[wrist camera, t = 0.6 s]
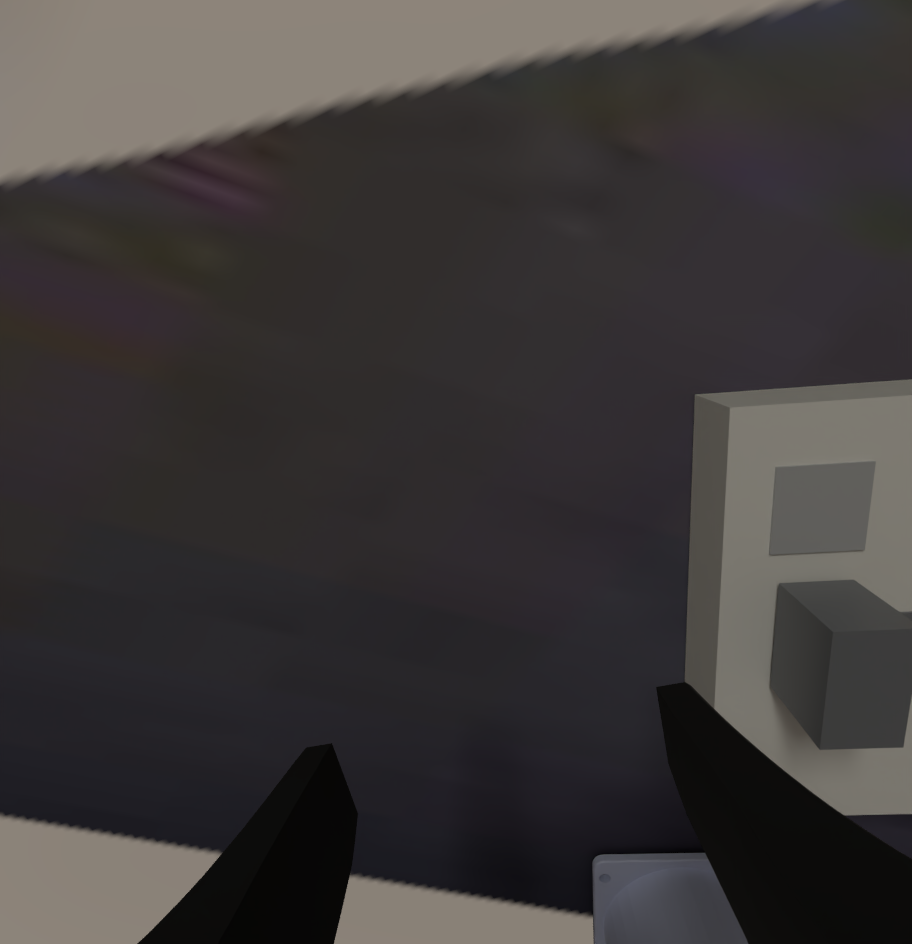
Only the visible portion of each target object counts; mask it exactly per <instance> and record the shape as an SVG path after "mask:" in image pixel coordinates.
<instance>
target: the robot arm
mask: <svg viewBox="0 0 912 944" xmlns="http://www.w3.org/2000/svg"><path fill="white" fill-rule="evenodd" d="M656 688H657V695H658V701H659V707H660V713H661V719H662V726H663V732H664V738H665V744H666V751H667V757H668V763H669V766H670V769H671V772H672V775H673V778H674V780H675V783H676V786H677V789H678V792H679V794H680V797H681V800H682V802H683V805H684V808H685V811H686V813H687V816H688V818H689V820H690V822H691V824H692V826H693V828H694V831H695V833H696V835H697V837H698V839H699V841H700V843H701V845H702V847H703V849H704V852H705V853H657V854H603V855H598V856H597V857H595V858H594V860H593V863H592V872H593V930H594V944H912V859H911V858H909V857H907V856H906V855H904V854H902V853H901V852H899V851H897V850H896V849H894V848H893V847H891V846H889V845H888V844H886V843H885V842H883V841H882V840H880V839H879V838H877V837H876V836H874V835H872V834H871V833H869V832H868V831H866V830H865V829H863V828H862V827H860V826H859V825H857V824H856V823H854V822H853V821H852V820H850V819H849V818H847V817H846V816H844V815H843V814H841V813H840V812H838V811H837V810H836V809H834V808H833V807H831V806H830V805H829V804H827V803H826V802H825V801H823V800H822V799H820V798H819V797H818V796H816V795H815V794H814V793H812V792H811V791H810V790H808V789H807V788H806V787H805V786H803V785H802V784H801V783H799V782H798V781H797V780H796V779H794V778H793V777H792V776H790V775H789V774H788V773H787V772H785V771H784V770H783V769H782V768H780V767H779V766H778V765H777V764H776V763H774V762H773V761H772V760H771V759H769V758H768V757H767V756H766V755H765V754H764V753H762V752H761V751H760V750H759V749H758V748H757V747H756V746H754V745H753V744H752V743H751V742H750V741H749V740H747V739H746V738H745V737H744V736H743V735H742V734H741V733H739V732H738V731H737V730H736V729H735V728H734V727H733V726H732V725H731V724H730V723H729V722H728V721H726V720H725V719H724V718H723V717H722V716H721V715H720V714H719V713H718V712H717V711H716V710H715V709H714V708H713V707H712V706H711V705H710V704H709V703H708V702H707V701H706V700H705V699H704V698H703V697H702V696H701V695H700V694H699V693H698V692H697V691H696V690H695V689H694V688H693V687H692V686H691V685H689V684H688V683H686V682H684V683H678V684H672V685H666V686H661V687H656ZM357 816H358V813H357V810H356V807H355V805H354V802H353V799H352V796H351V794H350V791H349V788H348V786H347V783H346V780H345V778H344V775H343V772H342V769H341V767H340V764H339V761H338V759H337V756H336V753H335V751H334V748H333V745H332V743H331V744H325V745H320V746H314V747H308V748H306V749H305V750H304V751H303V752H302V754H301V755H300V756H299V757H298V759H297V760H296V761H295V762H294V764H293V765H292V766H291V768H290V769H289V770H288V771H287V773H286V774H285V775H284V777H283V778H282V779H281V781H280V782H279V783H278V785H277V786H276V787H275V788H274V790H273V791H272V792H271V794H270V795H269V796H268V798H267V799H266V800H265V801H264V803H263V804H262V805H261V806H260V808H259V809H258V810H257V812H256V813H255V814H254V815H253V817H252V818H251V819H250V820H249V822H248V823H247V824H246V826H245V827H244V828H243V829H242V831H241V832H240V833H239V834H238V835H237V837H236V838H235V839H234V840H233V841H232V842H231V844H230V845H229V846H228V847H227V848H226V850H225V851H224V852H223V853H222V854H221V855H220V857H219V858H218V859H217V860H216V861H215V863H214V864H213V865H212V866H211V867H210V868H209V870H208V871H207V872H206V873H205V875H204V876H203V877H202V878H201V879H200V880H199V881H198V882H197V883H196V885H195V886H194V887H193V888H192V889H191V890H190V891H189V892H188V893H187V894H186V895H185V896H184V898H183V899H182V900H181V901H180V902H179V903H178V904H177V905H176V906H175V907H174V908H173V909H172V910H171V911H170V912H169V913H168V914H167V915H166V916H165V917H164V918H163V919H162V920H161V921H160V922H159V924H157V925H156V926H155V927H154V929H152V931H150V932H149V933H148V934H147V935H146V936H145V937H144V938H143V939H142V940H141V941H140V942H139V943H138V944H334V940H335V936H336V932H337V928H338V923H339V919H340V915H341V910H342V906H343V902H344V898H345V893H346V889H347V884H348V880H349V875H350V871H351V866H352V860H353V852H354V844H355V835H356V826H357ZM603 874H604V875H603Z"/></svg>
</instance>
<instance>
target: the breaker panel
mask: <svg viewBox="0 0 912 944" xmlns="http://www.w3.org/2000/svg"><path fill="white" fill-rule="evenodd" d="M834 580H855V581H857V582H858V583H859V584H861V585H862V586H864V587H865V588H866V589H868V590H869V591H871V592H872V593H873V594H875V595H876V596H878V597H879V598H881V599H882V600H883V601H885V602H886V603H888V604H889V605H890V606H892V607H893V608H895V609H896V610H897V611H899V612H900V613H902V614H903V615H904V616H906V617H907V618H909V619H910V620H911V621H912V379H910V380H896V381H882V382H867V383H853V384H839V385H825V386H810V387H796V388H782V389H767V390H753V391H739V392H725V393H710V394H696V395H695V405H694V433H693V461H692V490H691V518H690V546H689V574H688V603H687V631H686V659H685V682H686V683H688V684H689V685H691V686H692V687H693V688H694V689H695V690H696V691H697V692H698V693H699V694H700V695H701V696H702V697H703V698H704V699H705V700H706V701H707V702H708V703H709V704H710V705H711V706H712V707H713V708H714V709H715V710H716V711H717V712H718V713H719V714H720V715H721V716H722V717H723V718H724V719H725V720H726V721H728V722H729V723H730V724H731V725H732V726H733V727H734V728H735V729H736V730H737V731H738V732H739V733H741V734H742V735H743V736H744V737H745V738H746V739H747V740H749V741H750V742H751V743H752V744H753V745H754V746H756V747H757V748H758V749H759V750H760V751H761V752H762V753H764V754H765V755H766V756H767V757H768V758H769V759H771V760H772V761H773V762H774V763H776V764H777V765H778V766H779V767H780V768H782V769H783V770H784V771H785V772H787V773H788V774H789V775H790V776H792V777H793V778H794V779H796V780H797V781H798V782H799V783H801V784H802V785H803V786H805V787H806V788H807V789H808V790H810V791H811V792H812V793H814V794H815V795H816V796H818V797H819V798H820V799H822V800H823V801H825V802H826V803H827V804H829V805H830V806H831V807H833V808H834V809H836V810H837V811H838V812H840V813H841V814H843V815H881V814H912V697H911V703H910V709H909V716H908V722H907V728H906V734H905V740H904V747H903V748H868V749H833V750H819V748H818V747H817V746H816V744H815V743H814V742H813V741H812V739H811V738H810V737H809V735H808V734H807V733H806V732H805V730H804V729H803V728H802V726H801V725H800V724H799V723H798V721H797V720H796V719H795V717H794V716H793V715H792V714H791V712H790V711H789V710H788V708H787V707H786V706H785V705H784V703H783V702H782V701H781V699H780V698H779V697H778V696H777V694H776V693H775V692H774V690H773V689H772V688H771V687H770V684H771V672H772V659H773V647H774V635H775V623H776V611H777V599H778V587H779V583H793V582H813V581H834Z"/></svg>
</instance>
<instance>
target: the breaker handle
mask: <svg viewBox="0 0 912 944" xmlns="http://www.w3.org/2000/svg"><path fill="white" fill-rule="evenodd" d="M770 687H771V688H772V689H773V690H774V692H775V693H776V694H777V696H778V697H779V698H780V699H781V701H782V702H783V703H784V705H785V706H786V707H787V708H788V710H789V711H790V712H791V714H792V715H793V716H794V717H795V719H796V720H797V721H798V723H799V724H800V725H801V726H802V728H803V729H804V730H805V732H806V733H807V734H808V735H809V737H810V738H811V739H812V741H813V742H814V743H815V744H816V746H817V747H818V748H819V750H833V749H868V748H903V747H904V740H905V734H906V728H907V722H908V716H909V709H910V703H911V697H912V621H911V620H910V619H909V618H907V617H906V616H904V615H903V614H902V613H900V612H899V611H897V610H896V609H895V608H893V607H892V606H890V605H889V604H888V603H886V602H885V601H883V600H882V599H881V598H879V597H878V596H876V595H875V594H873V593H872V592H871V591H869V590H868V589H866V588H865V587H864V586H862V585H861V584H859V583H858V582H857V581H855V580H834V581H813V582H793V583H779V587H778V599H777V611H776V623H775V635H774V647H773V659H772V672H771V684H770Z"/></svg>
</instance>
